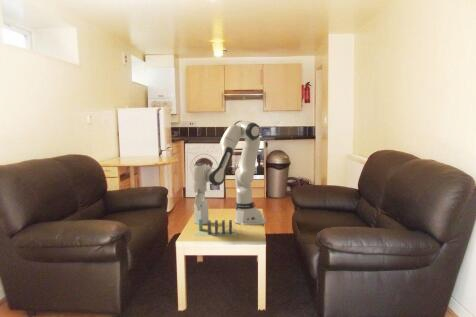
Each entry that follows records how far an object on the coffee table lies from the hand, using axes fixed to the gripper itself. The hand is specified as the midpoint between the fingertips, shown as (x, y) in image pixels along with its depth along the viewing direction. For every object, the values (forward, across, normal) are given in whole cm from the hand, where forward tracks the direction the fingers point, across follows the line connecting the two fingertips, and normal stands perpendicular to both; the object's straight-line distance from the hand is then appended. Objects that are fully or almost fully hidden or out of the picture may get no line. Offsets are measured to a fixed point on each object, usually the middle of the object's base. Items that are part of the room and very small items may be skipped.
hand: (199, 208), depth 226 cm
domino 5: (+14, -8, -21) cm, 26 cm away
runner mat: (+14, -8, -12) cm, 20 cm away
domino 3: (+14, -8, -12) cm, 20 cm away
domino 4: (+14, -8, -16) cm, 23 cm away
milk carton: (+15, +16, +1) cm, 22 cm away
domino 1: (+15, 0, -1) cm, 15 cm away
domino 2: (+14, -8, -7) cm, 18 cm away
